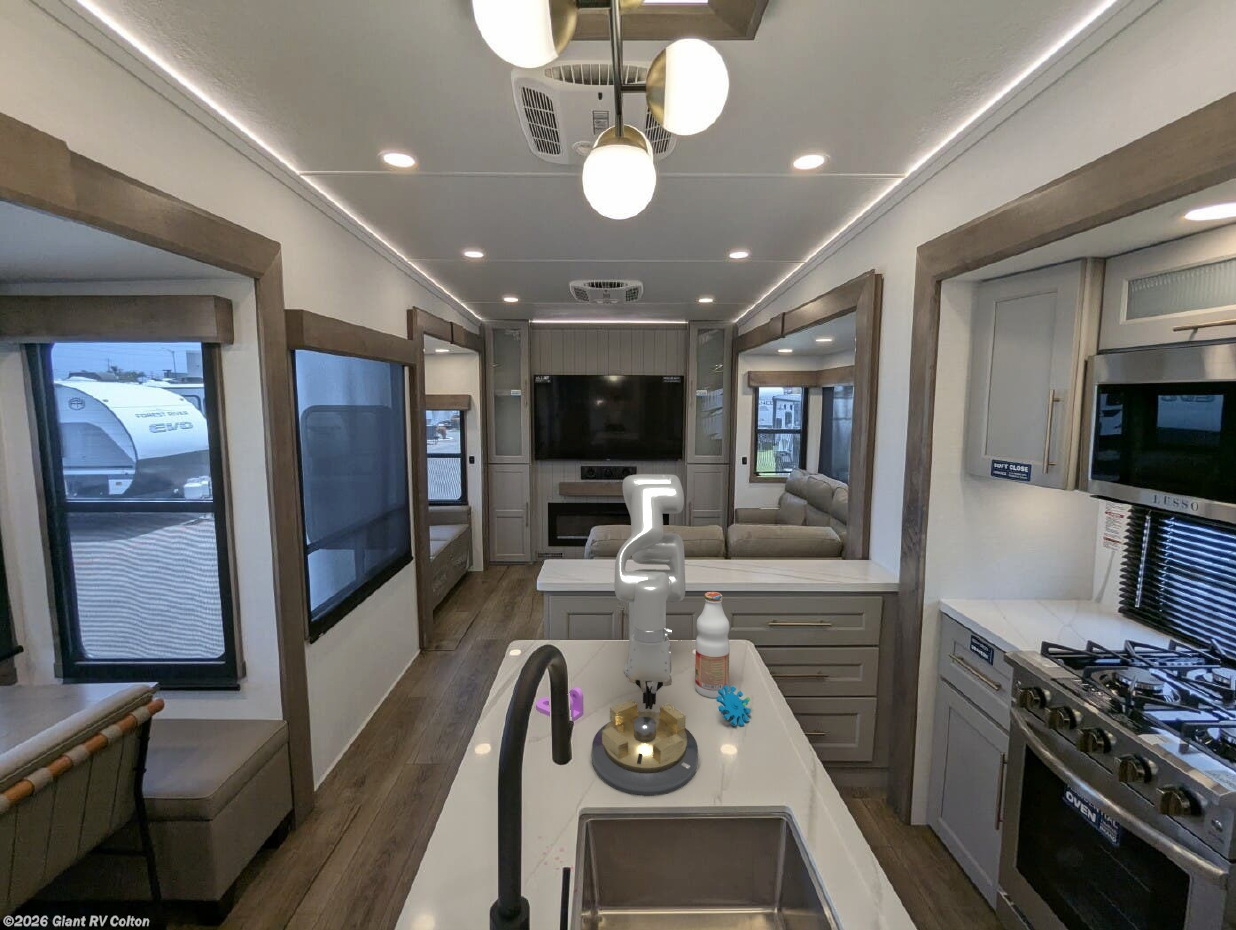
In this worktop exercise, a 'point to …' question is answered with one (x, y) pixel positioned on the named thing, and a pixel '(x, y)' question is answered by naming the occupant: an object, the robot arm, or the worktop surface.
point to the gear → (733, 705)
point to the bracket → (575, 704)
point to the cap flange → (639, 780)
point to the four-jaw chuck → (645, 737)
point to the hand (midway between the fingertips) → (649, 706)
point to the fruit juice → (712, 648)
